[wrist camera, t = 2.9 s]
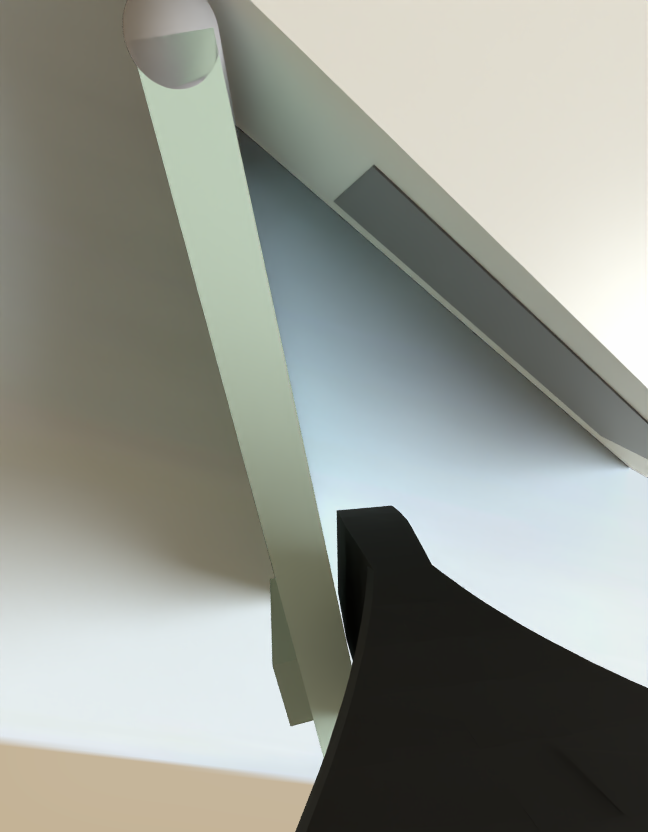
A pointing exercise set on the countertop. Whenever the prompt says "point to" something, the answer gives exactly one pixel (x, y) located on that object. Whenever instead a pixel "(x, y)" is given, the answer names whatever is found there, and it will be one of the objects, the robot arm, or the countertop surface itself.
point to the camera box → (479, 168)
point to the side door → (243, 340)
